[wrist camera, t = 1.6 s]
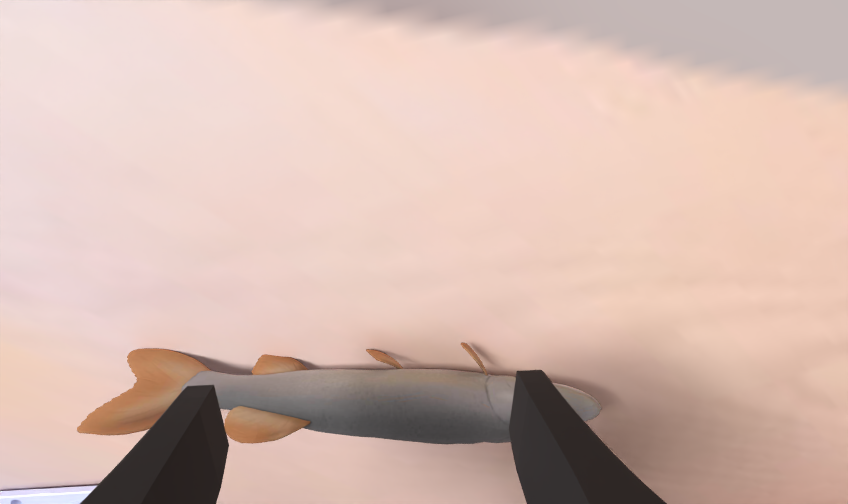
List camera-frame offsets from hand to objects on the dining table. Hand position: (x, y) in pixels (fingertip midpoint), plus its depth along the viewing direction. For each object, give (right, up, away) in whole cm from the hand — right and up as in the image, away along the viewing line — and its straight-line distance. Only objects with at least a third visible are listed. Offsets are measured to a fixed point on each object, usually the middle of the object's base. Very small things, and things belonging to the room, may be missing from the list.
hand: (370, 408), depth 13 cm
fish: (-1, -1, +12) cm, 12 cm away
